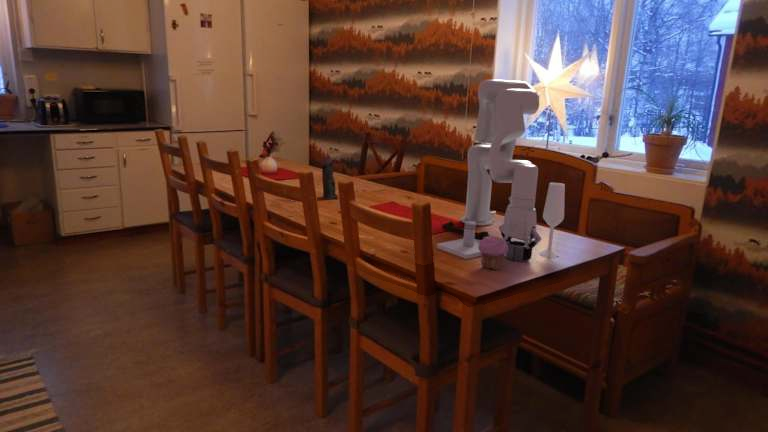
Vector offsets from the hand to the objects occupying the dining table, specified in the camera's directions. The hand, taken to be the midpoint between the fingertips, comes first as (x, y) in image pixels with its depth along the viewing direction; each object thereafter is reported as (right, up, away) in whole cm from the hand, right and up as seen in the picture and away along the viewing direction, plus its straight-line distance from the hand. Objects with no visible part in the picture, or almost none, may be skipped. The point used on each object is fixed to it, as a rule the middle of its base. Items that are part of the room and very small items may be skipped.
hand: (517, 255), depth 174 cm
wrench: (-12, +5, +24) cm, 27 cm away
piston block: (-15, +2, +7) cm, 17 cm away
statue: (-69, +21, +79) cm, 107 cm away
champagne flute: (+12, 0, +6) cm, 13 cm away
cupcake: (-10, -3, -10) cm, 14 cm away
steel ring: (0, -1, 0) cm, 1 cm away
